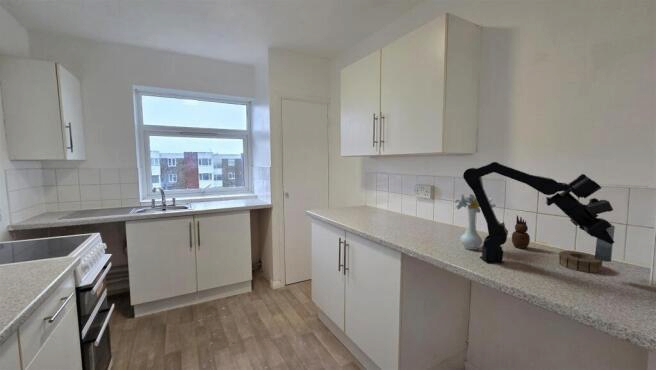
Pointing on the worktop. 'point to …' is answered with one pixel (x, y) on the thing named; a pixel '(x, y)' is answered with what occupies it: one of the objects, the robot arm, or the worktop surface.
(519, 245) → the wooden figurine
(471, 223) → the flower vase
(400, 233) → the worktop surface
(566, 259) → the segmented wooden ring
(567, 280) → the worktop surface
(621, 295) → the worktop surface
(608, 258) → the tall steel post
